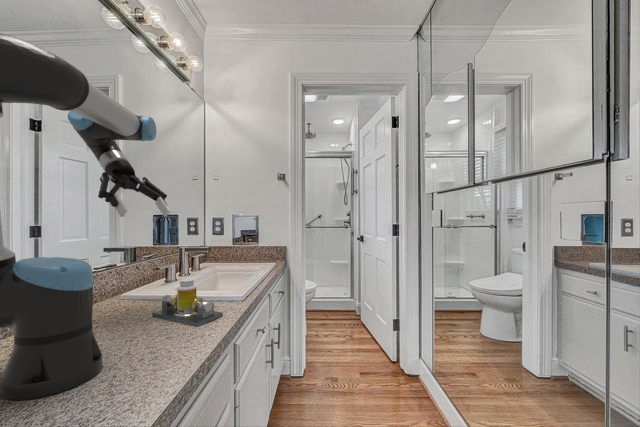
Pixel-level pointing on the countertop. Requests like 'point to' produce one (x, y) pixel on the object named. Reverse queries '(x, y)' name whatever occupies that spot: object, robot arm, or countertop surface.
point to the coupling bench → (200, 315)
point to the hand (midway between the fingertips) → (147, 213)
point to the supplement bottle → (185, 296)
